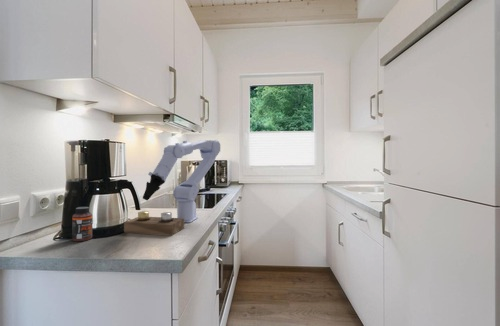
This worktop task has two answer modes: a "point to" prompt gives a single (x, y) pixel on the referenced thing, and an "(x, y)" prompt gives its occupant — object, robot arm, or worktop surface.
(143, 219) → the brass peg
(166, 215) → the steel peg
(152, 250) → the worktop surface
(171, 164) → the robot arm
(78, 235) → the supplement bottle
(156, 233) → the walnut block
